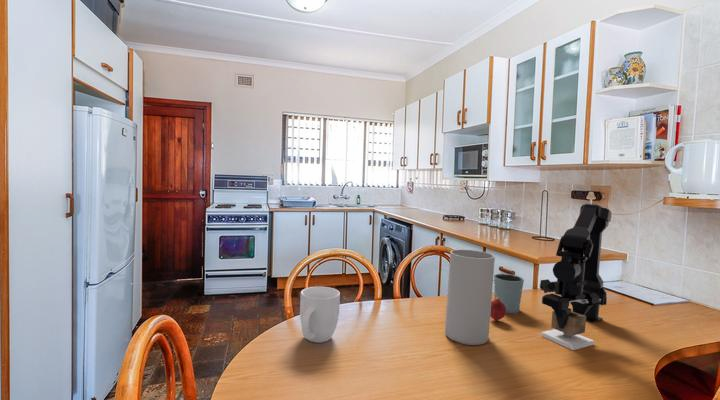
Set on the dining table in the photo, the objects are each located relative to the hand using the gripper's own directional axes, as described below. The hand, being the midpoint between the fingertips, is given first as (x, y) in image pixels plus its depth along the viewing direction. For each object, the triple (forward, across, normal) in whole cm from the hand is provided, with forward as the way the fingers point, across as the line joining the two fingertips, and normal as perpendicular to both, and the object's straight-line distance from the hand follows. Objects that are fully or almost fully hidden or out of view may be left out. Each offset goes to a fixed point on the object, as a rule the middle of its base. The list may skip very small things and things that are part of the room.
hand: (568, 326), depth 110 cm
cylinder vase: (+4, +28, -13) cm, 31 cm away
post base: (+4, 0, 0) cm, 4 cm away
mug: (+4, +70, -27) cm, 75 cm away
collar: (+1, 0, 0) cm, 1 cm away
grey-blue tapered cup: (+4, -4, -26) cm, 27 cm away
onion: (+4, +9, -19) cm, 22 cm away
